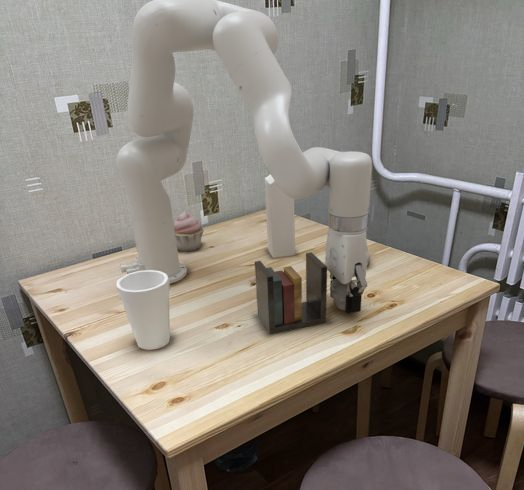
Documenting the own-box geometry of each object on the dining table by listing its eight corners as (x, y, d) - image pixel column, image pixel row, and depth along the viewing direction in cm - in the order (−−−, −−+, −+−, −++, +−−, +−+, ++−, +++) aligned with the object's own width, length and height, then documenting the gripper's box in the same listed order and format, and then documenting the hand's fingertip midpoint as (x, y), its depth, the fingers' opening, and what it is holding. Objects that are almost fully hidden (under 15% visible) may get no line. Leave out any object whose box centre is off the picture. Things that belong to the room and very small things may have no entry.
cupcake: (201, 254, 140) (196, 217, 135) (167, 253, 142) (162, 217, 136) (209, 241, 148) (206, 206, 143) (178, 240, 149) (173, 206, 144)
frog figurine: (344, 298, 114) (345, 269, 111) (367, 310, 109) (369, 280, 106) (322, 307, 112) (323, 276, 108) (344, 319, 107) (346, 288, 103)
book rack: (269, 334, 103) (267, 277, 97) (257, 316, 110) (254, 261, 103) (326, 322, 106) (327, 266, 99) (311, 305, 112) (311, 252, 106)
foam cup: (138, 328, 107) (126, 270, 100) (182, 329, 106) (173, 269, 99) (122, 354, 99) (108, 292, 92) (170, 354, 98) (159, 292, 91)
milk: (289, 247, 141) (287, 162, 130) (295, 255, 136) (294, 168, 125) (267, 250, 140) (263, 164, 129) (272, 258, 135) (269, 170, 124)
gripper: (313, 210, 107) (312, 290, 116) (350, 238, 92) (346, 326, 102) (346, 205, 108) (343, 284, 118) (388, 232, 94) (381, 319, 104)
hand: (345, 303), depth 110 cm, fingers closed on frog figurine, 6 cm apart
